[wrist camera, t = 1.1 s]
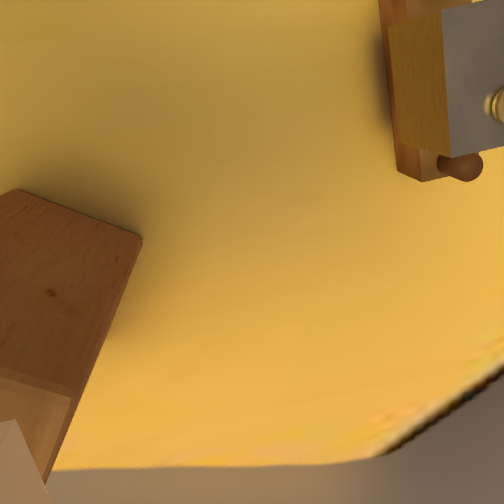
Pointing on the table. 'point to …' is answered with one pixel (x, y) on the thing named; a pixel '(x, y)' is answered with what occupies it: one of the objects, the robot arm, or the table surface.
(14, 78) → the table surface
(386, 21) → the plane body
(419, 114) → the lever cap
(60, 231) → the wooden block
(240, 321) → the table surface
